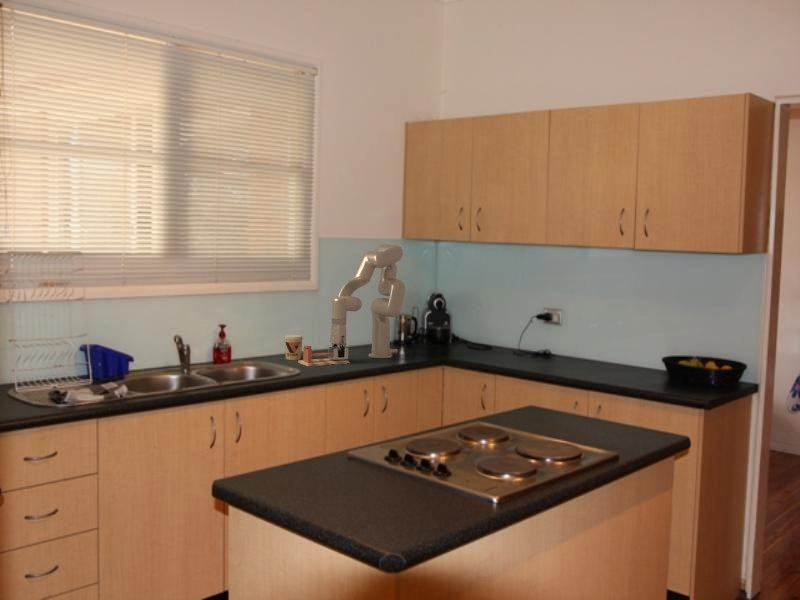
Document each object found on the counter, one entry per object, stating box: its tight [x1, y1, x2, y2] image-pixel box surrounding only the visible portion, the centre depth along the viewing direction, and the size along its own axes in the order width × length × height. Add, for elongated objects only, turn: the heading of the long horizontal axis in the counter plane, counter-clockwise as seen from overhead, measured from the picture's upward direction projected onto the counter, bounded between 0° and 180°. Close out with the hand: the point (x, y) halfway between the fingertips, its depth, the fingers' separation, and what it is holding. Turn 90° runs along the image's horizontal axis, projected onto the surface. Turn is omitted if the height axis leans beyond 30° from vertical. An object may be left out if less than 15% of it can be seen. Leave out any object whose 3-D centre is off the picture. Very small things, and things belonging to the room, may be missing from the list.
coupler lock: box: [327, 346, 349, 360], centre depth 425 cm, size 8×7×5 cm
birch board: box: [297, 358, 350, 367], centre depth 421 cm, size 23×12×1 cm, turn 120°
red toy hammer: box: [302, 345, 331, 363], centre depth 419 cm, size 14×6×8 cm, turn 120°
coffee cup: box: [284, 334, 304, 361], centre depth 430 cm, size 9×9×12 cm
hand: (338, 356), depth 425 cm, fingers closed on coupler lock, 6 cm apart
